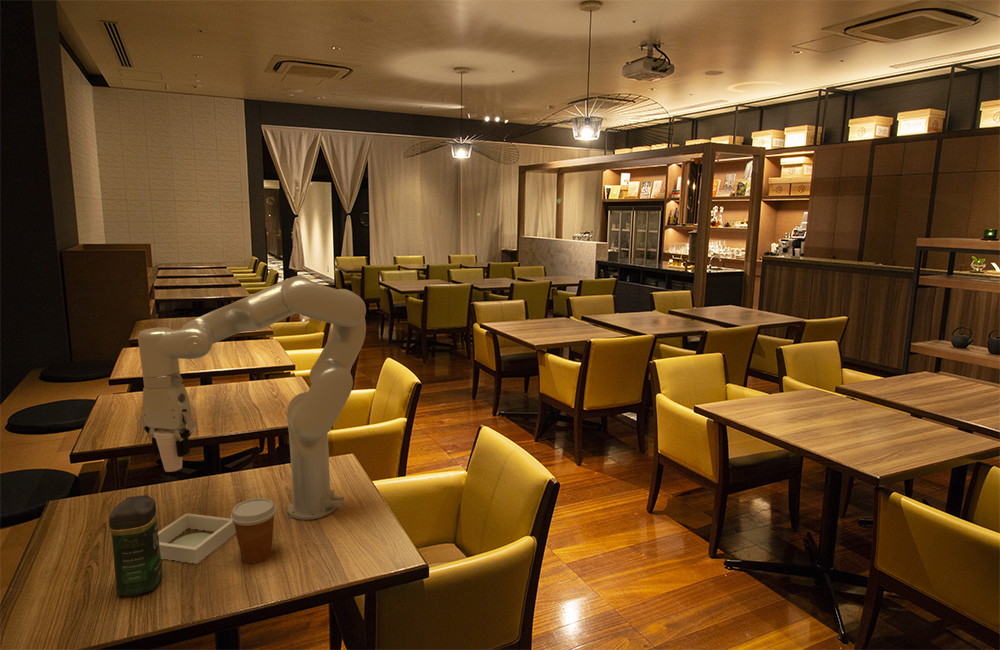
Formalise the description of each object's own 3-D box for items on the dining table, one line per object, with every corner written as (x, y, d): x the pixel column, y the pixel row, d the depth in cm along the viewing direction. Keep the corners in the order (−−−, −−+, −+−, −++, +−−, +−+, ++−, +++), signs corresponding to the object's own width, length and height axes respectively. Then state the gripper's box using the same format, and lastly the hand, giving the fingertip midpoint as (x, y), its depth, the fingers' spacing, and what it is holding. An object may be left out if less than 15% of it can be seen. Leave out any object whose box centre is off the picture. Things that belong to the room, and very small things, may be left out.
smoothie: (174, 475, 138) (167, 418, 136) (151, 473, 140) (143, 416, 137) (194, 464, 145) (187, 409, 142) (172, 462, 146) (165, 407, 144)
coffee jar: (157, 594, 122) (147, 510, 119) (112, 601, 120) (102, 516, 117) (167, 568, 131) (158, 489, 128) (126, 574, 129) (116, 494, 126)
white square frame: (236, 532, 146) (235, 519, 146) (196, 564, 133) (195, 549, 132) (187, 526, 149) (186, 513, 149) (143, 556, 136) (141, 542, 135)
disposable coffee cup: (235, 572, 130) (231, 521, 128) (232, 550, 138) (228, 502, 136) (281, 560, 134) (278, 511, 132) (276, 540, 143) (272, 494, 140)
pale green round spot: (221, 536, 144) (221, 535, 144) (195, 556, 136) (194, 555, 136) (189, 532, 146) (189, 530, 146) (161, 552, 138) (161, 550, 138)
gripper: (205, 378, 140) (213, 450, 143) (145, 374, 144) (154, 444, 147) (181, 387, 133) (190, 463, 136) (118, 383, 137) (129, 456, 140)
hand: (171, 453), depth 142 cm, fingers closed on smoothie, 6 cm apart
